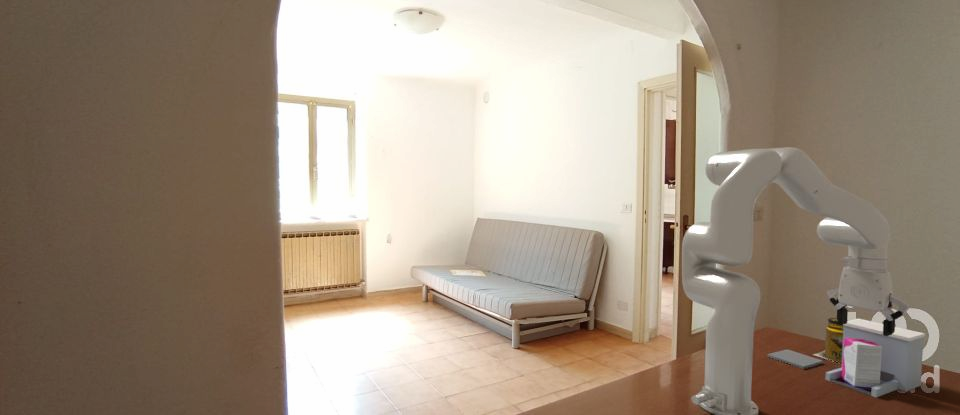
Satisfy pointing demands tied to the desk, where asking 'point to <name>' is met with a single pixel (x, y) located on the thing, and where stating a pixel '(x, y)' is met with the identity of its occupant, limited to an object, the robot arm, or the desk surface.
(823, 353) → the condiment
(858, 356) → the supplement box
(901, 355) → the dispenser
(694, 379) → the desk surface
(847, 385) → the bar
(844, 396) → the desk surface
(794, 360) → the coaster
